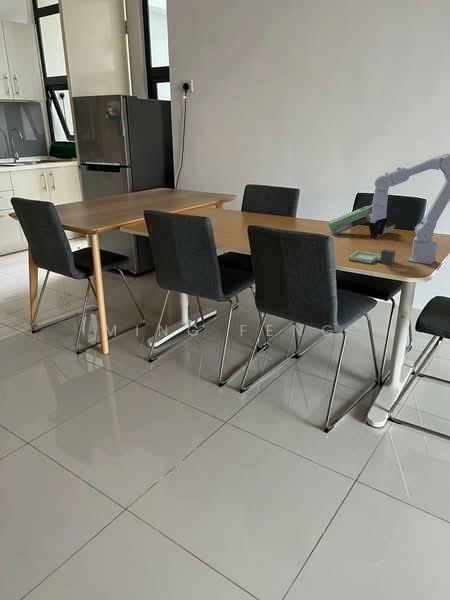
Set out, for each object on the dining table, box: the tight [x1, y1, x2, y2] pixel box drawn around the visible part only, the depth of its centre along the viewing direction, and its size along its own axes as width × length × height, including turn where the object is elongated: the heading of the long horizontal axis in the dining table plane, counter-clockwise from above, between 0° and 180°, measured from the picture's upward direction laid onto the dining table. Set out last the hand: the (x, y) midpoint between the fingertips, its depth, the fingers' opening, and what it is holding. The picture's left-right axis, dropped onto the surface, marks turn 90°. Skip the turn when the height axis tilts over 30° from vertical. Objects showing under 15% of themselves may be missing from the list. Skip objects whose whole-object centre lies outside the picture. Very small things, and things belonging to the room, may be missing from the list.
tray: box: [348, 250, 381, 265], centre depth 197 cm, size 10×11×2 cm
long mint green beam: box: [327, 196, 396, 236], centre depth 240 cm, size 7×32×20 cm, turn 91°
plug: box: [376, 248, 397, 266], centre depth 191 cm, size 7×3×6 cm, turn 54°
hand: (376, 236), depth 196 cm, fingers open, 7 cm apart
